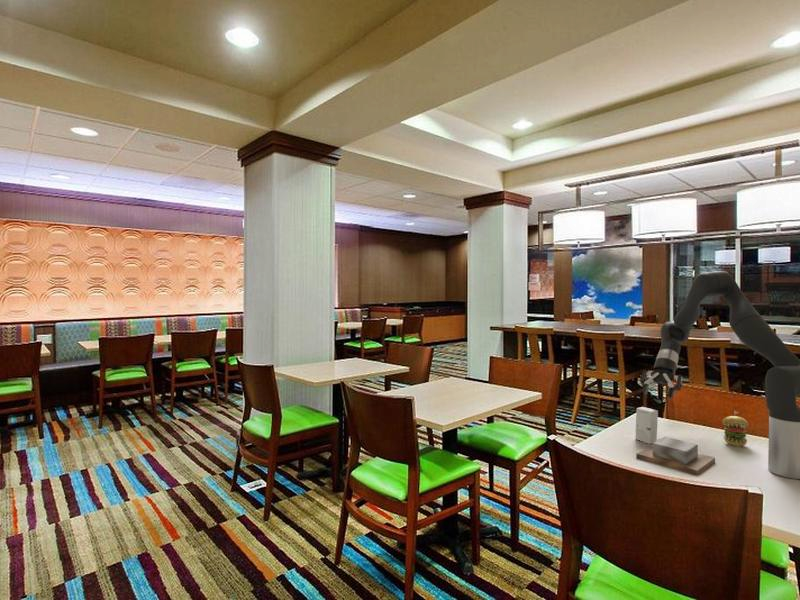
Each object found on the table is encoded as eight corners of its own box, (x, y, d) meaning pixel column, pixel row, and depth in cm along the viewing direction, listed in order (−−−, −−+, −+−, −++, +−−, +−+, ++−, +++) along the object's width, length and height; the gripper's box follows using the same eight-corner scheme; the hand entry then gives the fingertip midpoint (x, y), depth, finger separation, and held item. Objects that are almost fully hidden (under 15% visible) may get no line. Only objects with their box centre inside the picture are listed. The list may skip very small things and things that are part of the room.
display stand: (714, 462, 146) (715, 445, 145) (697, 475, 136) (697, 457, 135) (656, 447, 160) (656, 432, 159) (636, 457, 150) (636, 441, 150)
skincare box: (634, 439, 168) (635, 407, 167) (642, 437, 170) (642, 406, 169) (650, 444, 162) (650, 411, 162) (658, 442, 164) (658, 410, 164)
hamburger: (723, 445, 160) (724, 413, 160) (720, 439, 167) (720, 408, 166) (750, 449, 157) (751, 415, 157) (745, 443, 163) (746, 410, 163)
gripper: (645, 355, 184) (634, 386, 177) (684, 359, 174) (675, 392, 166) (649, 366, 188) (639, 397, 180) (688, 370, 178) (679, 404, 170)
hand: (656, 395), depth 173 cm, fingers open, 8 cm apart
